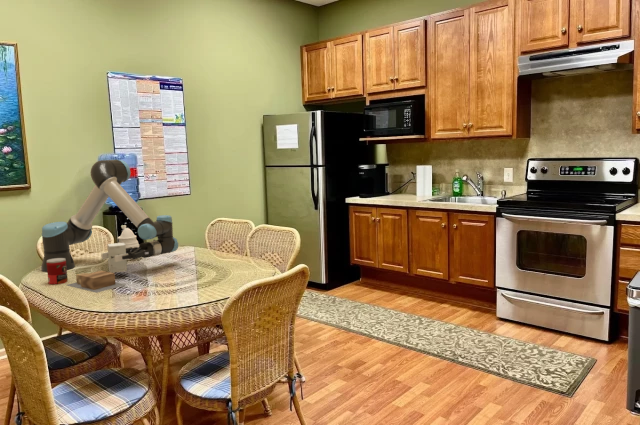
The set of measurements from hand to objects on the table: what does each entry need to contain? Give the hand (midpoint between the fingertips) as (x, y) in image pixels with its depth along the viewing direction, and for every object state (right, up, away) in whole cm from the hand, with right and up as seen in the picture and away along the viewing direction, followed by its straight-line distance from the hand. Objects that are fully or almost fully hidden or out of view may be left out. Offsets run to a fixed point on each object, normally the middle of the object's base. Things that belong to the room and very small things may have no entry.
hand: (108, 257), depth 225 cm
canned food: (-22, -12, -2) cm, 25 cm away
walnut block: (0, -11, -10) cm, 15 cm away
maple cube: (-9, -11, -5) cm, 15 cm away
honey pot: (-10, -5, +51) cm, 52 cm away
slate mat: (-2, -12, -9) cm, 15 cm away
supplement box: (+3, -7, +5) cm, 9 cm away
